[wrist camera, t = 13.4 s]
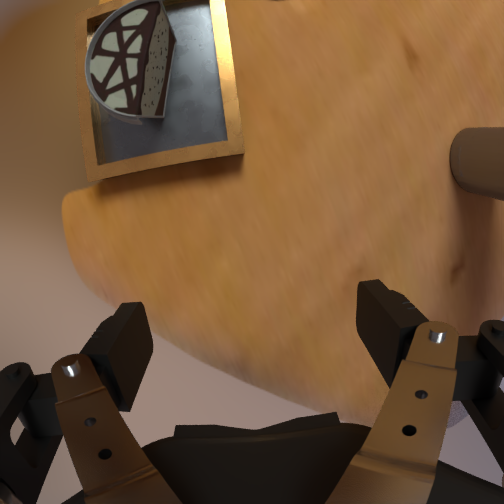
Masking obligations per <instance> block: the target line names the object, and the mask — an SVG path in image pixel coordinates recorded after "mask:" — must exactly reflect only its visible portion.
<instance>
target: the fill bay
mask: <svg viewBox="0 0 504 504" xmlns="http://www.w3.org/2000/svg"><path fill="white" fill-rule="evenodd" d="M132 1H134V0H113V1H109V2H106V3H104V4H101V5H98V6H95V7H92V8H90V9H87V10H84V11H82V12H79V13H77V14H76V38H75V40H76V41H75V42H76V79H77V95H78V108H79V119H80V128H81V136H82V145H83V153H84V159H85V167H86V173H87V179H88V182H92V181H97V180H102V179H106V178H110V177H115V176H119V175H124V174H128V173H133V172H138V171H143V170H148V169H153V168H158V167H163V166H168V165H174V164H179V163H185V162H191V161H197V160H203V159H210V158H216V157H223V156H230V155H237V154H244V153H245V149H244V141H243V134H242V126H241V119H240V112H239V104H238V97H237V89H236V82H235V75H234V67H233V60H232V53H231V46H230V38H229V31H228V24H227V17H226V10H225V3H224V0H165V1H162V3H163V5H164V8H165V10H166V13H167V16H168V18H169V21H170V23H171V26H172V29H173V31H174V34H175V37H176V39H177V42H176V48H175V53H174V59H173V64H172V70H171V76H170V82H169V89H168V95H167V102H166V110H165V117H164V118H138V119H139V120H140V121H141V123H142V125H137V124H130V123H127V122H123V121H121V120H119V119H117V118H114V117H113V116H111V115H110V114H109V113H107V112H106V111H105V110H104V109H103V108H102V107H101V106H100V105H99V104H98V103H97V102H96V101H95V99H94V98H93V96H92V94H91V93H90V90H89V88H88V85H87V81H86V77H85V58H86V53H87V50H88V46H89V44H90V42H91V39H92V37H93V36H94V34H95V32H96V31H97V29H98V28H99V27H100V25H101V24H102V23H103V22H104V21H105V20H106V19H107V18H108V17H109V16H110V15H111V14H112V13H113V12H115V11H116V10H118V9H119V8H120V7H122V6H124V5H126V4H128V3H130V2H132Z"/></svg>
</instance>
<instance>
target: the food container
mask: <svg viewBox="0 0 504 504" xmlns="http://www.w3.org/2000/svg"><path fill="white" fill-rule="evenodd" d="M162 1H165V0H134V1H132V2H130V3H128V4H126V5H124V6H122V7H120V8H119V9H118V10H116V11H115V12H113V13H112V14H111V15H110V16H109V17H108V18H107V19H106V20H105V21H104V22H103V23H102V24H101V25H100V27H99V28H98V29H97V31H96V32H95V34H94V36H93V37H92V39H91V42H90V44H89V46H88V50H87V53H86V58H85V77H86V81H87V85H88V88H89V90H90V93H91V94H92V96H93V98H94V99H95V101H96V102H97V103H98V104H99V105H100V106H101V107H102V108H103V109H104V110H105V111H106V112H107V113H109V114H110V115H111V116H113V117H114V118H117V119H119V120H121V121H123V122H127V123H130V124H137V125H142V123H141V121H140V120H139V119H138V118H164V117H165V110H166V102H167V95H168V89H169V82H170V76H171V70H172V64H173V59H174V53H175V48H176V42H177V39H176V37H175V34H174V31H173V29H172V26H171V23H170V21H169V18H168V16H167V13H166V10H165V8H164V5H163V3H162Z"/></svg>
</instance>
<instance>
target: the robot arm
mask: <svg viewBox="0 0 504 504" xmlns="http://www.w3.org/2000/svg"><path fill="white" fill-rule="evenodd" d="M450 162H451V168H452V172H453V175H454V177H455V179H456V181H457V182H458V184H459V185H460V186H461V187H462V188H463V189H464V190H466V191H468V192H471V193H475V194H479V195H483V196H487V197H490V198H494V199H498V200H502V201H504V127H478V128H466V129H463V130H462V131H460V132H459V133H458V134H457V135H456V137H455V139H454V141H453V144H452V147H451V153H450ZM356 327H357V332H358V334H359V336H360V338H361V340H362V341H363V343H364V345H365V347H366V348H367V350H368V352H369V353H370V355H371V357H372V359H373V360H374V362H375V364H376V366H377V367H378V369H379V371H380V373H381V374H382V376H383V378H384V380H385V381H386V383H387V385H388V387H389V389H390V390H389V392H388V395H387V397H386V399H385V401H384V404H383V406H382V408H381V410H380V412H379V414H378V416H377V418H376V420H375V423H374V425H373V427H372V428H371V427H368V426H364V425H359V424H353V423H340V421H339V418H338V415H337V412H332V413H326V414H320V415H314V416H307V417H300V418H295V419H292V420H289V421H286V422H282V423H279V424H276V425H272V426H269V427H266V428H262V429H258V430H250V429H242V428H234V427H227V426H220V425H176V426H175V431H174V436H172V437H167V438H164V439H160V440H157V441H155V442H152V443H150V444H148V445H145V446H144V447H142V448H141V447H140V446H139V444H138V442H137V441H136V439H135V438H134V436H133V434H132V433H131V431H130V429H129V428H128V426H127V425H126V423H125V421H124V420H123V418H122V416H121V414H120V413H119V411H123V412H130V410H131V408H132V405H133V402H134V400H135V397H136V394H137V392H138V389H139V386H140V384H141V381H142V379H143V376H144V374H145V371H146V368H147V366H148V363H149V361H150V358H151V356H152V353H153V339H152V335H151V331H150V327H149V324H148V320H147V316H146V312H145V308H144V305H143V303H142V302H130V303H122V304H121V305H120V306H119V308H118V309H117V311H116V312H115V314H114V315H113V316H110V317H109V318H107V319H106V320H104V321H103V322H102V323H101V324H100V325H99V327H98V328H97V329H96V331H95V332H94V334H93V335H92V338H90V339H89V340H88V342H87V343H86V344H85V346H84V347H83V349H82V350H81V352H80V353H79V354H71V355H67V356H65V357H63V358H61V359H60V360H58V361H57V362H55V364H54V365H53V366H52V368H51V373H46V374H40V375H34V374H33V372H32V370H31V367H30V365H29V364H27V363H24V362H18V363H14V364H11V365H9V366H7V367H5V368H4V369H3V370H2V371H0V504H36V502H37V500H38V497H39V494H40V492H41V489H42V486H43V484H44V481H45V478H46V476H47V473H48V471H49V468H50V466H51V463H52V461H53V459H54V456H55V454H56V451H57V449H58V447H59V444H60V442H61V439H62V437H63V436H64V439H65V442H66V445H67V448H68V451H69V454H70V456H71V459H72V462H73V465H74V467H75V470H76V473H77V475H78V478H79V480H80V483H81V485H82V488H83V490H81V491H80V492H78V493H77V494H75V495H74V496H72V497H71V498H70V499H68V500H66V501H65V502H63V503H61V504H504V474H503V477H502V487H501V486H498V485H496V484H493V483H491V482H488V481H486V480H483V479H481V478H478V477H476V476H474V475H471V474H469V473H467V472H464V471H462V470H459V469H457V468H455V467H453V466H451V465H449V464H446V463H444V462H442V461H440V460H438V458H439V454H440V451H441V447H442V443H443V439H444V435H445V431H446V427H447V423H448V418H449V413H450V409H451V404H452V401H461V403H462V404H463V406H464V407H465V409H466V410H467V412H468V414H469V415H470V417H471V418H472V420H473V422H474V423H475V425H476V426H477V428H478V430H479V431H480V433H481V434H482V436H483V438H484V440H485V441H486V443H487V445H488V446H489V448H490V450H491V452H492V453H493V455H494V457H495V459H496V460H497V462H498V464H499V466H500V467H501V469H502V471H503V473H504V393H503V391H502V390H501V388H500V387H499V386H500V383H501V380H502V378H503V377H504V321H500V320H488V321H485V322H483V323H482V324H481V326H480V329H479V333H478V335H477V336H459V334H458V331H457V330H456V329H455V328H454V327H453V326H451V325H449V324H447V323H444V322H438V321H429V320H428V319H427V318H426V317H425V316H424V315H423V314H422V313H421V312H420V311H419V310H418V309H417V308H415V306H414V305H413V304H412V303H410V301H409V300H408V299H407V298H406V297H405V296H404V295H403V294H400V293H398V292H396V291H394V290H389V289H388V288H387V287H386V286H385V285H384V284H383V283H382V282H381V281H380V280H379V279H376V280H369V281H361V282H359V284H358V289H357V310H356ZM17 417H18V418H19V419H20V421H21V422H22V424H23V426H24V427H25V428H24V430H23V432H22V433H21V435H20V437H19V439H18V441H17V443H16V445H14V444H13V442H12V440H11V437H10V429H11V427H12V425H13V423H14V422H15V420H16V418H17Z"/></svg>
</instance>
